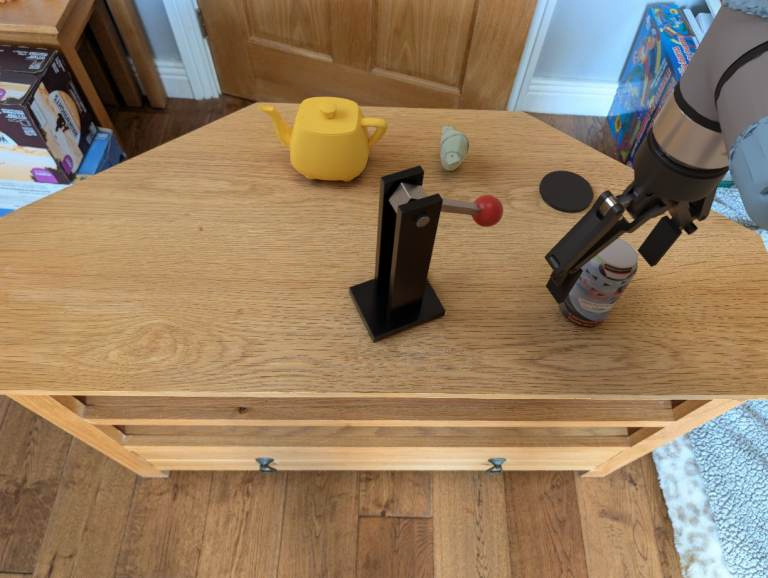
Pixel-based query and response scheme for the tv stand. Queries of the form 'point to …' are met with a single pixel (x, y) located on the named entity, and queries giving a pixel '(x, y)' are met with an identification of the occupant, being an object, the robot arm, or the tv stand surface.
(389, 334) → the bracket
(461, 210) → the lever
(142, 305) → the tv stand surface
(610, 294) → the beverage can
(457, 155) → the pale green rounded lump
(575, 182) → the coaster
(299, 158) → the teapot
